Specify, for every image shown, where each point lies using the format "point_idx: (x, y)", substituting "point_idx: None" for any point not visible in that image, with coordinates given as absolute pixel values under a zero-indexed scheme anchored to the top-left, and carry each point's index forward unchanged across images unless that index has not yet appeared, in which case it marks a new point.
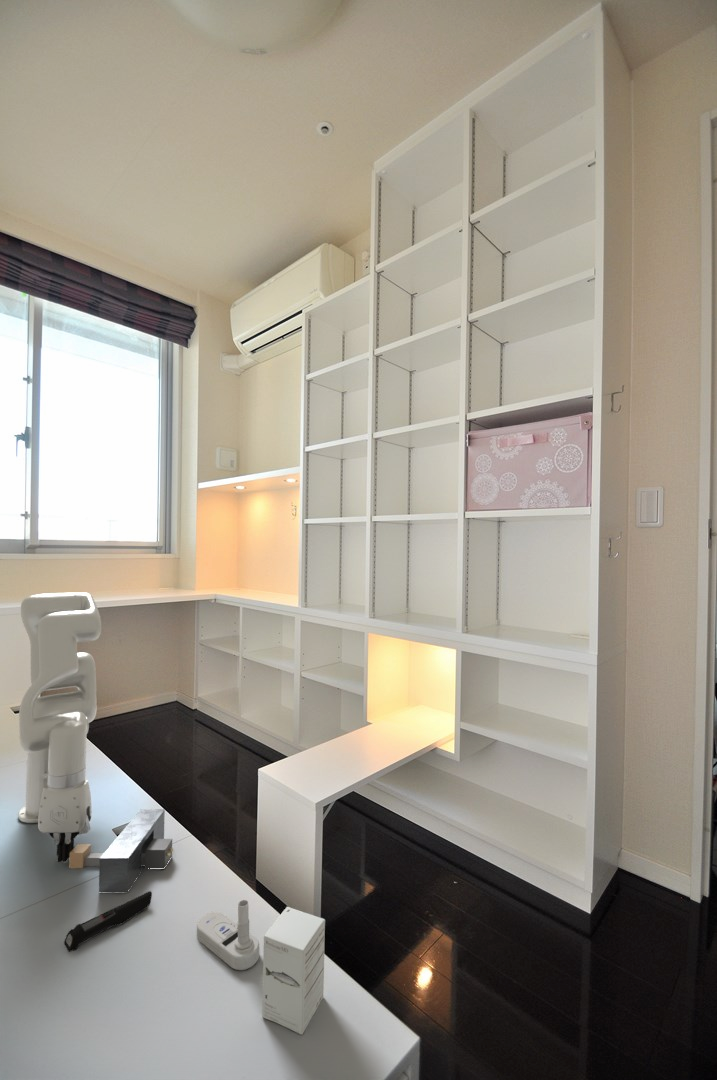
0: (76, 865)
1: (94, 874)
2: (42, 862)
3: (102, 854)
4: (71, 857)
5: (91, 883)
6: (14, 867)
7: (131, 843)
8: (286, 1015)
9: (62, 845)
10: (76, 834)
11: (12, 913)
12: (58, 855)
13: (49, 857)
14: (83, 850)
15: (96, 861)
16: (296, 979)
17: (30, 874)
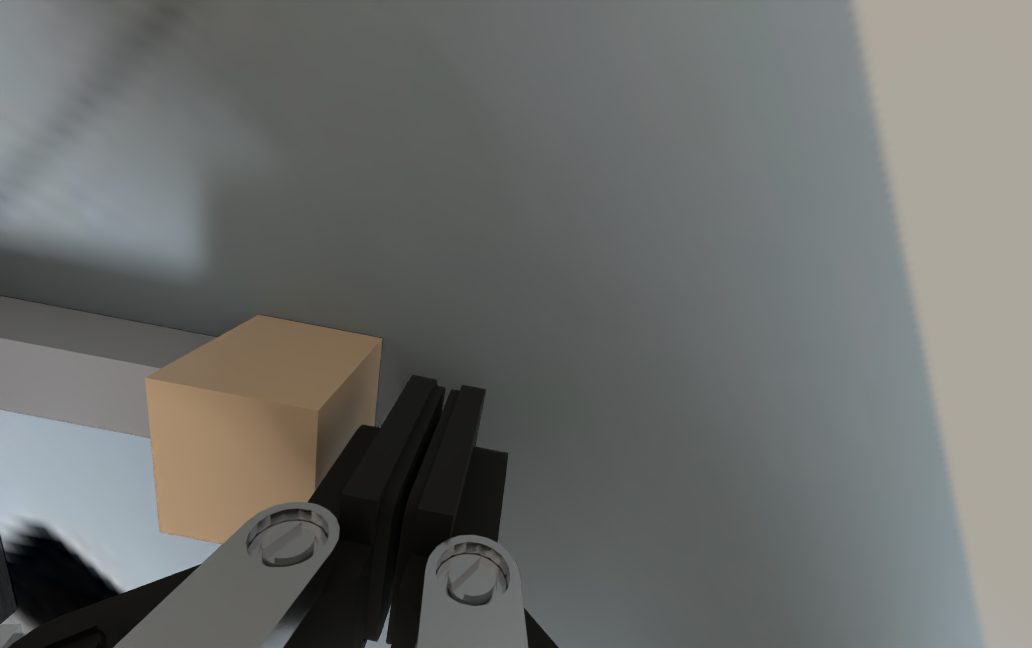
0: (301, 333)
1: (90, 193)
2: (660, 468)
3: (56, 401)
4: (319, 380)
5: (25, 32)
6: (891, 445)
7: None
8: None
9: (389, 499)
10: (57, 636)
11: None
12: (467, 421)
13: (624, 522)
14: (166, 426)
15: (114, 340)
16: None
17: (712, 311)
